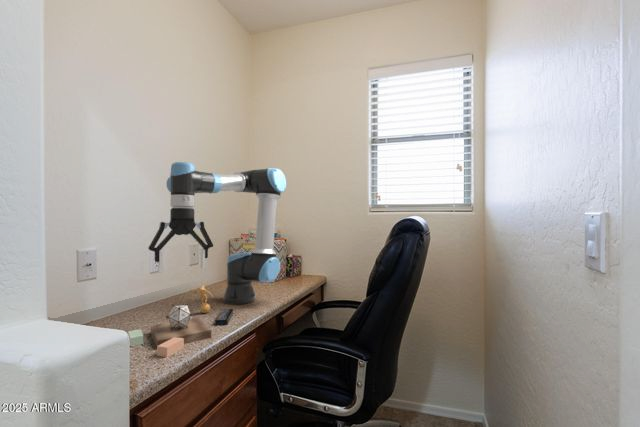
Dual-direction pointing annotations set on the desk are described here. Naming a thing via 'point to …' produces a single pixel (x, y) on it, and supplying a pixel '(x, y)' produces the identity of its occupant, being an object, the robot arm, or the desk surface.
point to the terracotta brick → (170, 347)
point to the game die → (179, 316)
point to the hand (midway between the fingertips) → (182, 269)
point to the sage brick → (136, 337)
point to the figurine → (205, 307)
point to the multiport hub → (224, 317)
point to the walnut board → (181, 332)
